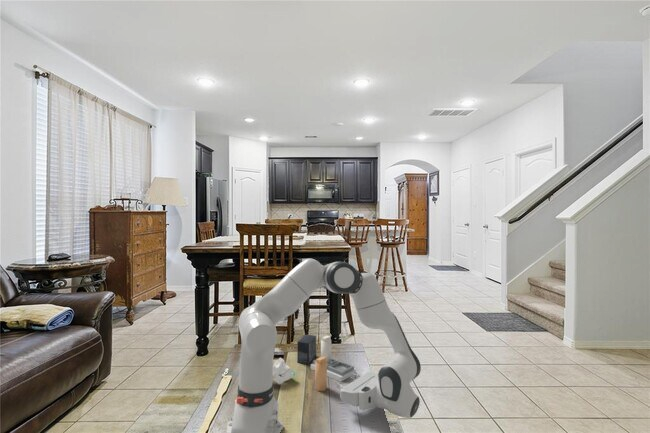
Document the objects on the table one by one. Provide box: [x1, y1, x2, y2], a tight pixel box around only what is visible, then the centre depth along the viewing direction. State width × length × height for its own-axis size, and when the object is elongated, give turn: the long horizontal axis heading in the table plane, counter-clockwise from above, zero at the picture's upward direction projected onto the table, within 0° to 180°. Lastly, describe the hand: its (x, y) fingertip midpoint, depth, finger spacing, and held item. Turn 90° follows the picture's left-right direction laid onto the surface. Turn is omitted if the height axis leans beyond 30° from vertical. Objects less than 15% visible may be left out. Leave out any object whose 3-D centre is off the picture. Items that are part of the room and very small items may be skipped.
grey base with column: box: [310, 334, 357, 383], centre depth 161 cm, size 18×11×14 cm, turn 48°
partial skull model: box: [273, 357, 296, 386], centre depth 152 cm, size 12×9×10 cm
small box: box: [296, 334, 317, 365], centre depth 174 cm, size 11×6×10 cm, turn 162°
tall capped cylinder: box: [314, 356, 328, 392], centre depth 145 cm, size 5×5×12 cm
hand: (345, 380), depth 138 cm, fingers open, 8 cm apart
